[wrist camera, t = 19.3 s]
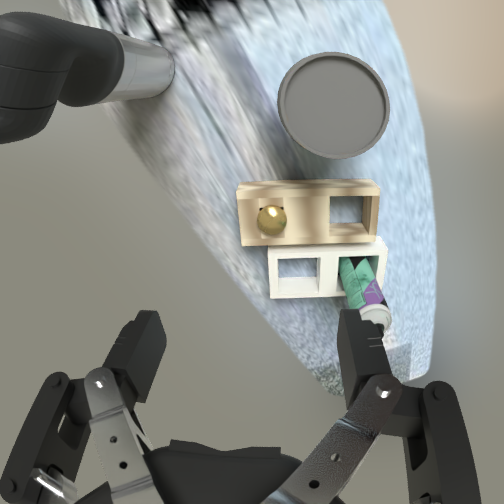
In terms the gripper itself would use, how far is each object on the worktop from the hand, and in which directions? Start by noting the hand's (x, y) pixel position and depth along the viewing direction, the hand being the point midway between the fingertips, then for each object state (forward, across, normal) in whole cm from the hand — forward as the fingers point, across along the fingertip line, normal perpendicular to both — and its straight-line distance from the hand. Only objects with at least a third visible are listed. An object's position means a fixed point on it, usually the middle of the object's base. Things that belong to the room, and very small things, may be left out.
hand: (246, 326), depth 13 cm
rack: (+38, -9, +20) cm, 44 cm away
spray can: (+38, -14, +20) cm, 45 cm away
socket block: (+38, -6, +9) cm, 40 cm away
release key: (+38, 0, +9) cm, 39 cm away
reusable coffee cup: (+38, -8, -8) cm, 40 cm away
